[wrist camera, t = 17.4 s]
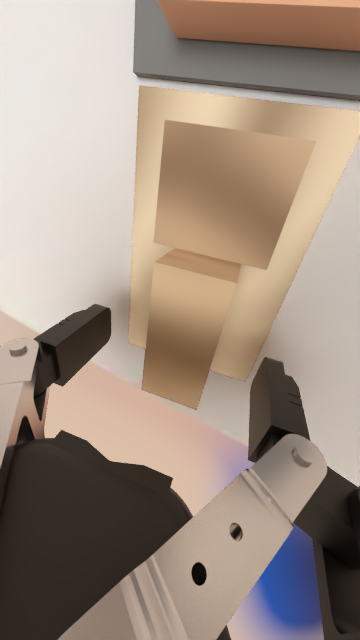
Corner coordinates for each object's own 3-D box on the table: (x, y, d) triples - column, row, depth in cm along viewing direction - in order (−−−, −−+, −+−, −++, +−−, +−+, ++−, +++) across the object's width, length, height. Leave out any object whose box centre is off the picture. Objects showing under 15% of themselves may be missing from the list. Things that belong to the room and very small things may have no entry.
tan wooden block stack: (224, 375, 15) (217, 417, 13) (146, 349, 16) (123, 383, 14) (312, 144, 9) (341, 117, 6) (169, 123, 10) (131, 92, 7)
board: (361, 118, 8) (370, 112, 8) (246, 374, 16) (245, 382, 15) (146, 92, 10) (139, 85, 9) (133, 337, 17) (128, 342, 17)
